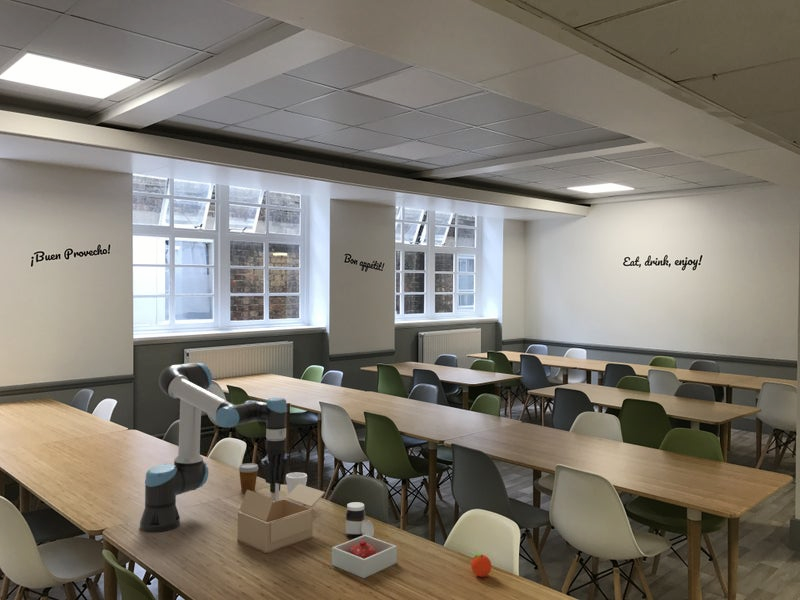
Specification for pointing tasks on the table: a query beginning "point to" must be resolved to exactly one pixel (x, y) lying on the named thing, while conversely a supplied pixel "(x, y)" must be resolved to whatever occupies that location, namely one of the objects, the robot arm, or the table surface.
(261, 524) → the carton
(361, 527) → the spread jar
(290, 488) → the foam cup
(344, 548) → the dish caddy
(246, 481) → the disposable coffee cup
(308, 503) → the flap far
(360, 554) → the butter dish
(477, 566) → the clementine
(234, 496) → the table surface
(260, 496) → the flap near
